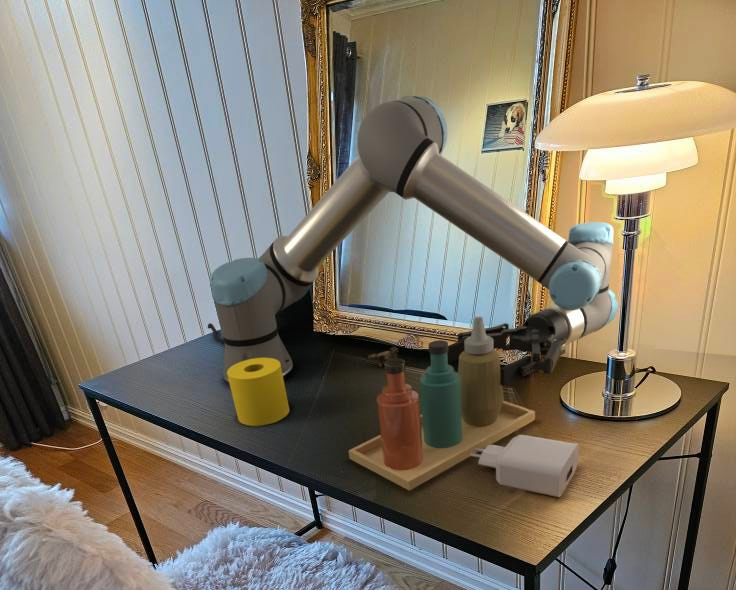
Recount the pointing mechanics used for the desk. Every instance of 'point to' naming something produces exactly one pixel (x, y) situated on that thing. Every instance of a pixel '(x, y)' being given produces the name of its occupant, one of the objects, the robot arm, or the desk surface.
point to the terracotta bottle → (399, 420)
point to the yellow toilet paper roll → (258, 391)
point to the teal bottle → (441, 400)
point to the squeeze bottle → (480, 378)
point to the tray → (443, 458)
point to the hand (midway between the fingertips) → (469, 367)
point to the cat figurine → (384, 356)
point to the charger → (532, 463)
